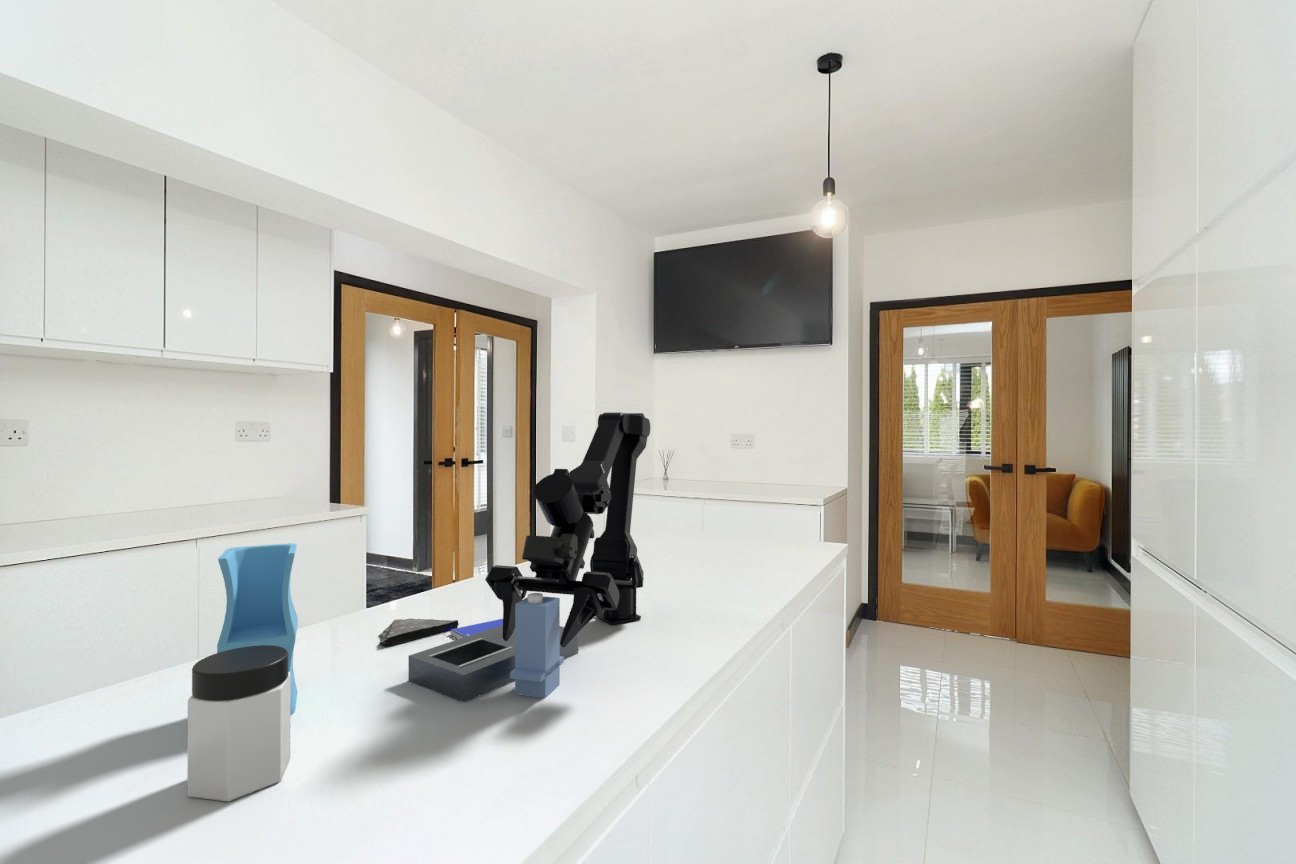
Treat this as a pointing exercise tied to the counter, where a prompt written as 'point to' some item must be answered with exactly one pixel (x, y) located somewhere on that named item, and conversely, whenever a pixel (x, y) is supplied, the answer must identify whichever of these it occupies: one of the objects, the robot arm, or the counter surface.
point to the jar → (238, 722)
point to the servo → (537, 646)
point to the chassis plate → (471, 664)
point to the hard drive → (475, 628)
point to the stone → (414, 630)
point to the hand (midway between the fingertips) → (533, 642)
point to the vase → (259, 601)
